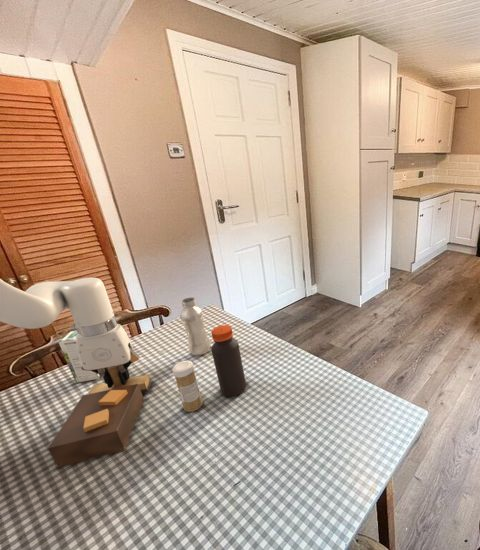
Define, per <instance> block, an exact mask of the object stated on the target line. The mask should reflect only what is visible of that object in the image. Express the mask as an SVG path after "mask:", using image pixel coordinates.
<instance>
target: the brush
mask: <svg viewBox="0 0 480 550" xmlns="http://www.w3.org/2000/svg"><path fill="white" fill-rule="evenodd" d="M107 369H108V372H109V374H110V377H111V379H112V382H113V386H112V387H111V388H108V385H107V384H105V382H102V383H98V384H97V383H96V384H94V385H93V386H92V387H91V389H90V391H89V392H88V394H92V393H97V392H102V391H106V390H111V389H116V388H120V387H125V386H130V385H134V384H139V387H140V390H141V393H142V395H144V394H145V395H146V394H149V392H150V389H151V388H152V380H151V377H150V376H151V375H150V374H148V373H147V374H141V375H138V376H133V377H130V378H129V379H128V381H127V383H126V384H125V385H122V383H121V381H120V378H119V375H118V373H119V372H120V371H119V368H118V366H111V367H108V368H107Z"/></svg>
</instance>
